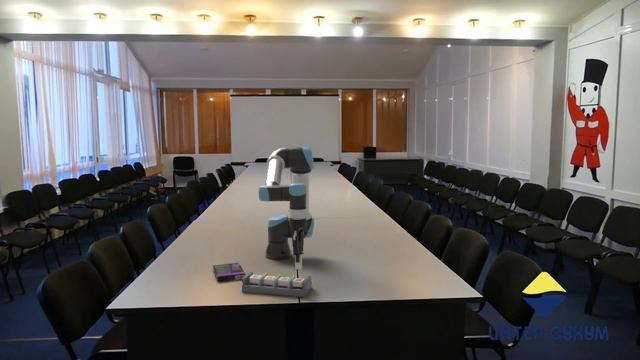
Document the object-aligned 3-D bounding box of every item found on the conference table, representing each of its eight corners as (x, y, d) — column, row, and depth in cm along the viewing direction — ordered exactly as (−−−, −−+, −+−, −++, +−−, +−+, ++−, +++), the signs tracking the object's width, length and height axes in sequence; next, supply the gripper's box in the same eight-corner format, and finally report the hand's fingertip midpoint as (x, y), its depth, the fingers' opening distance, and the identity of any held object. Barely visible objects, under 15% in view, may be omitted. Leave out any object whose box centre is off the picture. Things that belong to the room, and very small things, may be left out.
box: (245, 280, 221) (239, 267, 239) (245, 273, 221) (239, 261, 239) (217, 283, 217) (213, 270, 235) (216, 276, 216) (212, 264, 234)
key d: (267, 280, 209) (267, 275, 209) (275, 281, 208) (275, 275, 208) (263, 284, 205) (263, 278, 205) (272, 284, 204) (272, 279, 204)
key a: (281, 282, 208) (281, 276, 207) (290, 282, 207) (290, 277, 206) (278, 285, 203) (278, 279, 203) (287, 286, 202) (287, 280, 202)
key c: (295, 283, 206) (295, 277, 206) (304, 283, 205) (304, 278, 205) (292, 286, 202) (292, 280, 201) (302, 287, 201) (302, 281, 200)
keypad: (251, 282, 216) (251, 270, 215) (311, 287, 208) (311, 275, 208) (241, 291, 204) (241, 279, 203) (304, 297, 197) (304, 284, 196)
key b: (253, 279, 211) (253, 274, 211) (261, 280, 210) (261, 274, 210) (249, 282, 207) (249, 277, 206) (258, 283, 206) (258, 278, 205)
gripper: (294, 214, 207) (294, 263, 209) (285, 220, 194) (286, 272, 197) (309, 215, 205) (310, 265, 208) (302, 221, 192) (302, 273, 195)
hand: (298, 268), depth 202 cm, fingers closed
